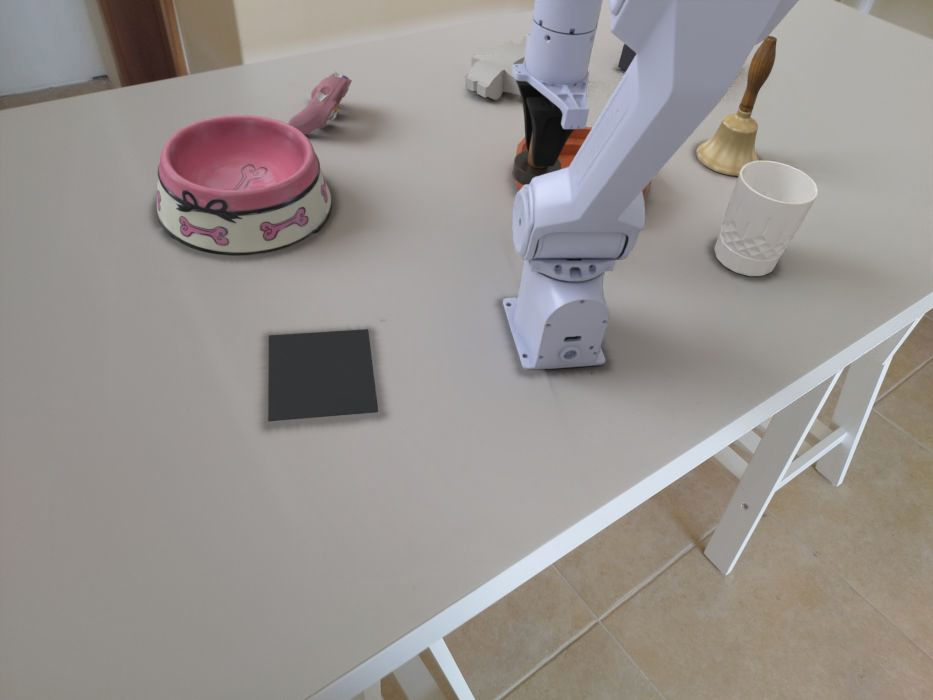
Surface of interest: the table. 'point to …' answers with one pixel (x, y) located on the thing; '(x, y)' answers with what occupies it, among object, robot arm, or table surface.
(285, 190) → the dog bowl
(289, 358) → the mat
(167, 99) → the table surface
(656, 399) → the table surface
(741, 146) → the hand bell
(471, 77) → the white lobed flat block
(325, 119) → the video game controller
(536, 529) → the table surface
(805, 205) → the white cup
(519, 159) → the coffee tamper
